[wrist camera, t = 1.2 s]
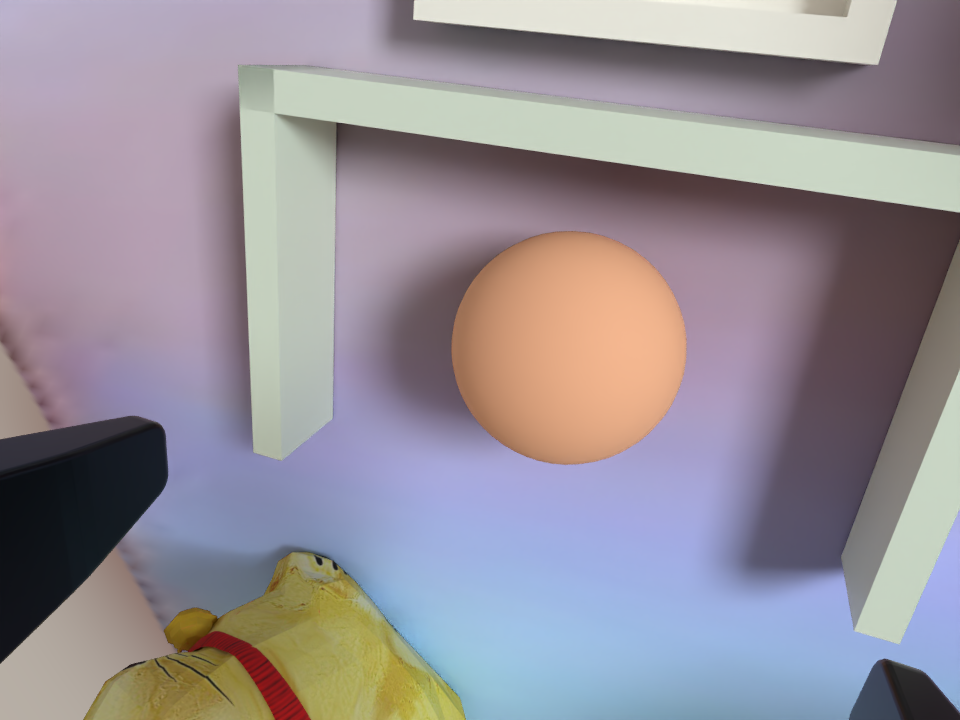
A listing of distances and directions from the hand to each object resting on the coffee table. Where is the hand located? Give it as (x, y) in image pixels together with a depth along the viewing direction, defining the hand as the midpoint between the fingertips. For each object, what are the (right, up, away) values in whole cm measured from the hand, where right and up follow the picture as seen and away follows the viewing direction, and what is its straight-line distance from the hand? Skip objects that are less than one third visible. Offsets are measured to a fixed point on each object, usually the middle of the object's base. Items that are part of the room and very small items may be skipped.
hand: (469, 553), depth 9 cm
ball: (+2, +3, +9) cm, 9 cm away
